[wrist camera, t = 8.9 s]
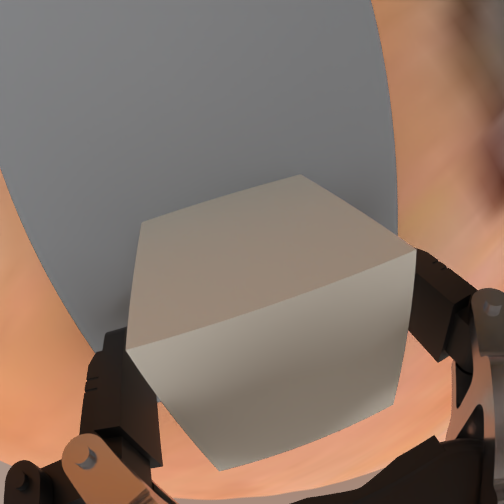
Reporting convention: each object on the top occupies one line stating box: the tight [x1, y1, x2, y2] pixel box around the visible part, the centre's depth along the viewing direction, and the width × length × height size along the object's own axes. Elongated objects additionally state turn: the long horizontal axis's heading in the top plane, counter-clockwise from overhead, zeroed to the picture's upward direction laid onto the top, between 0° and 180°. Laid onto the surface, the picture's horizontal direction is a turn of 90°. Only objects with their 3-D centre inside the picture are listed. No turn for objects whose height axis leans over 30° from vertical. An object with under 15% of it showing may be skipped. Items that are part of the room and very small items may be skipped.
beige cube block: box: [126, 174, 417, 471], centre depth 9 cm, size 6×6×6 cm
